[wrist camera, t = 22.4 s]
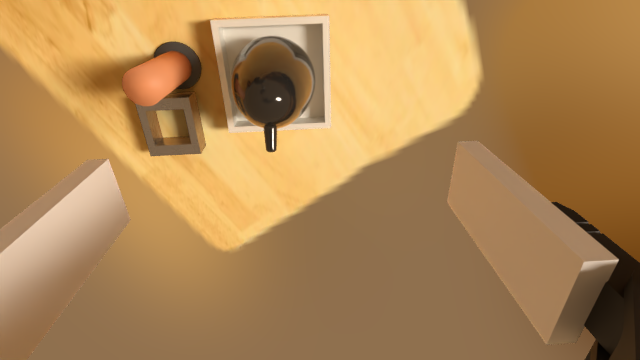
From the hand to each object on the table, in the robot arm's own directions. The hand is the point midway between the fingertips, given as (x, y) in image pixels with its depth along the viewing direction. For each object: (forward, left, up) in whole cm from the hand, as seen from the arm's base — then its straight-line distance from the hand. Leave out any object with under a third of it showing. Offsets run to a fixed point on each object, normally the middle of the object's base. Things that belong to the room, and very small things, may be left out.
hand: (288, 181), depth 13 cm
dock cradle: (+3, -3, -36) cm, 37 cm away
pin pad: (+2, -16, -36) cm, 40 cm away
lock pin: (+2, -16, -36) cm, 39 cm away
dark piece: (+3, -3, -36) cm, 36 cm away
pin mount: (+9, -18, -36) cm, 42 cm away
